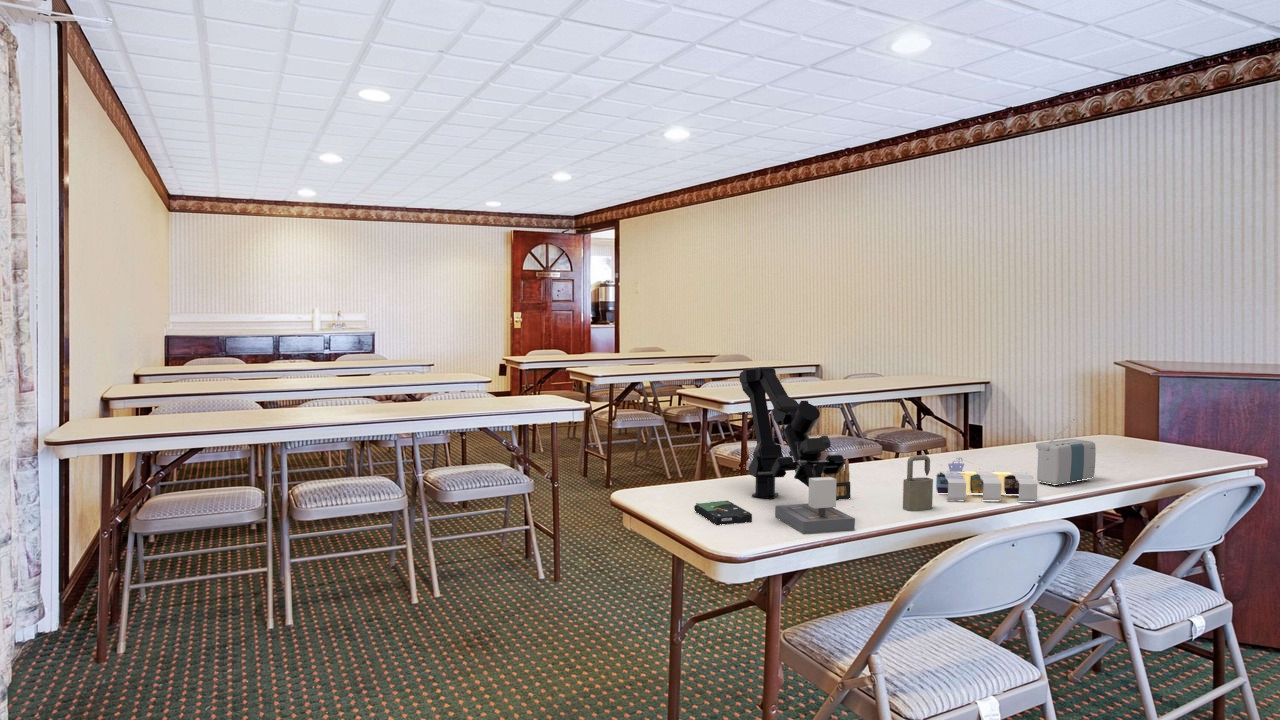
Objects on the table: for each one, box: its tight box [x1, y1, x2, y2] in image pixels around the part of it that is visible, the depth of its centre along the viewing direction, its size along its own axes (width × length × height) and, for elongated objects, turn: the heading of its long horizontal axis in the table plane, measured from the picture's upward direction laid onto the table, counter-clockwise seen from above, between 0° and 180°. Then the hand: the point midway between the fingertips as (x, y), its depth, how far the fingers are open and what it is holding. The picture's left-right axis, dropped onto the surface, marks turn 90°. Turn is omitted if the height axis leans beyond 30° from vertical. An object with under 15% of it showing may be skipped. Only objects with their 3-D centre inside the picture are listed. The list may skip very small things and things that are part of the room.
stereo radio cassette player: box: [1035, 418, 1097, 484], centre depth 241 cm, size 21×8×20 cm, turn 119°
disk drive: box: [693, 500, 753, 526], centre depth 197 cm, size 10×3×15 cm
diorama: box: [935, 457, 1038, 502], centre depth 218 cm, size 25×10×13 cm, turn 87°
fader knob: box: [807, 477, 837, 516], centre depth 186 cm, size 3×6×9 cm, turn 105°
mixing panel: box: [774, 503, 856, 535], centre depth 190 cm, size 16×14×3 cm
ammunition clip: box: [821, 457, 852, 501], centre depth 216 cm, size 11×2×12 cm, turn 111°
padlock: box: [902, 454, 934, 512], centre depth 206 cm, size 4×8×15 cm, turn 111°
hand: (818, 493), depth 188 cm, fingers closed, pressing on fader knob
